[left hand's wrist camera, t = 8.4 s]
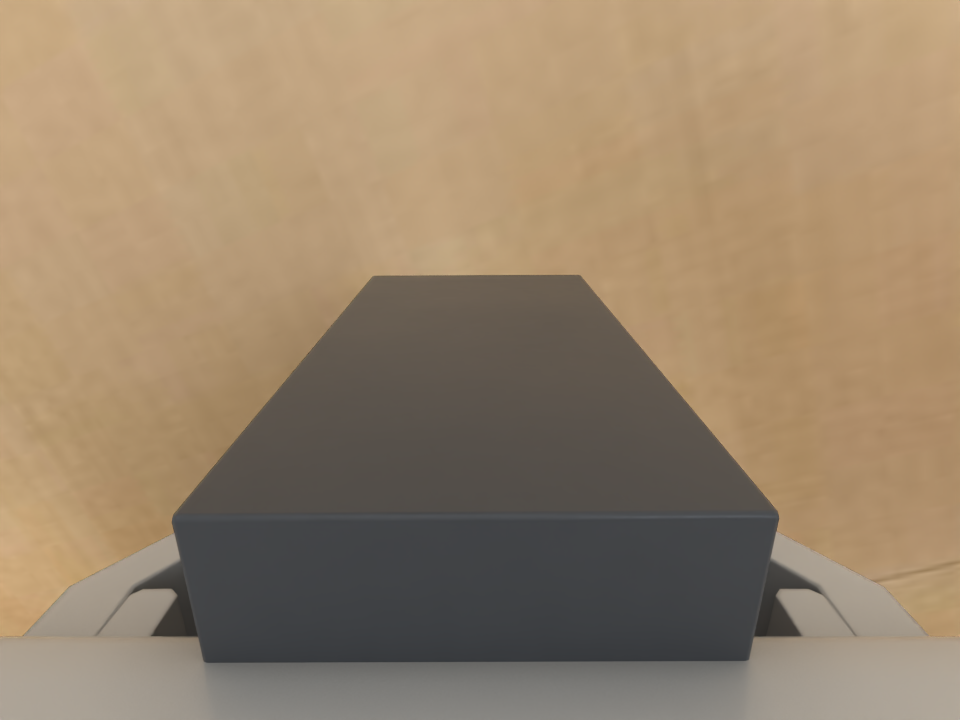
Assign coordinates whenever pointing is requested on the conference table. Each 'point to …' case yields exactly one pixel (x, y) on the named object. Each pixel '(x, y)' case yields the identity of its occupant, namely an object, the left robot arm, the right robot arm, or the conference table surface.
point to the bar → (476, 494)
